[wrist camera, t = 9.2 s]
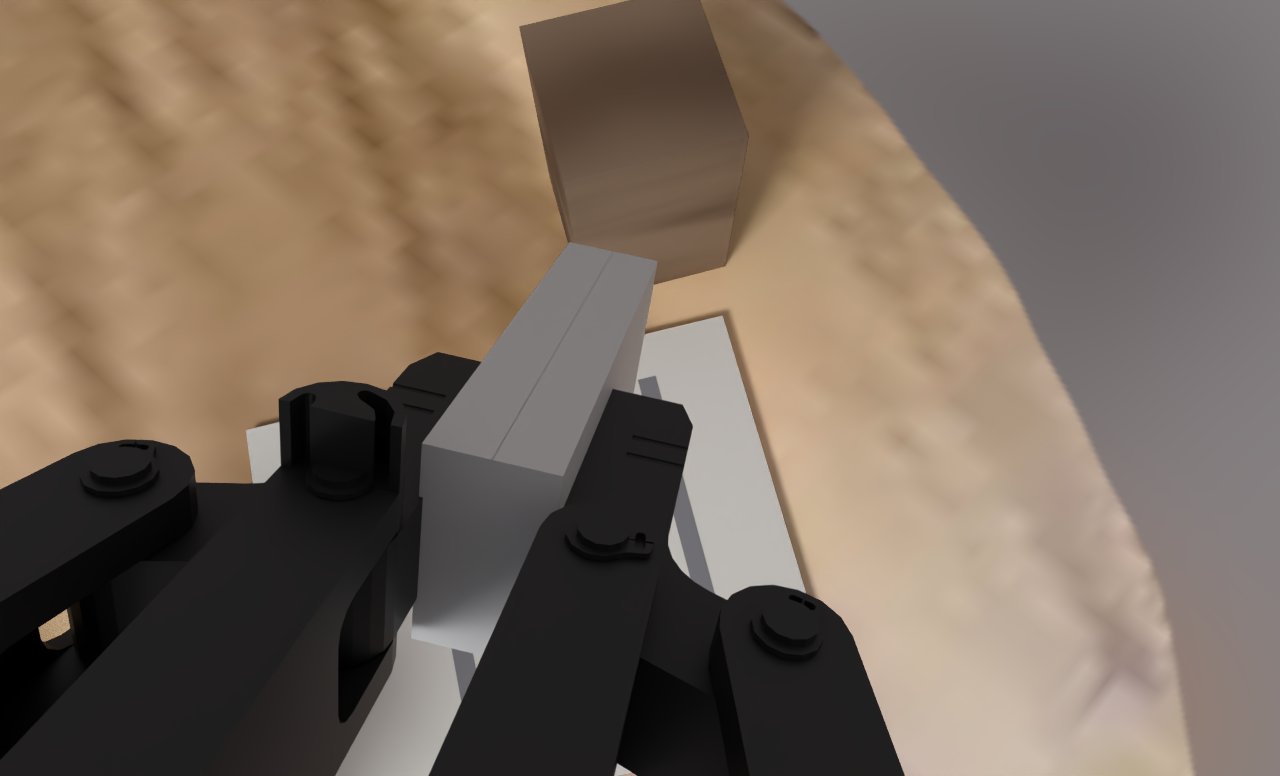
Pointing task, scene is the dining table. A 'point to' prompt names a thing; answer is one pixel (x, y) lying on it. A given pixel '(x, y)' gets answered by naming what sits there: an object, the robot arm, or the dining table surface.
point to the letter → (698, 539)
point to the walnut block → (639, 131)
